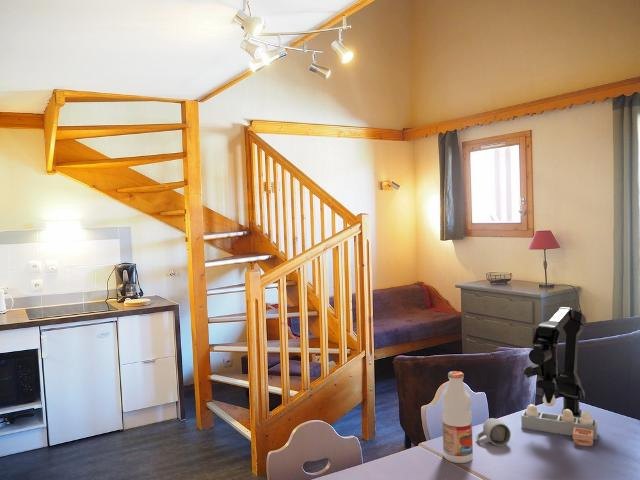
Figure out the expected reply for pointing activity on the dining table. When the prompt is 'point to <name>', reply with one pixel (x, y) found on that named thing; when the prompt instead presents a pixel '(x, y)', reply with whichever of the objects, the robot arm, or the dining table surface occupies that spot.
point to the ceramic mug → (494, 432)
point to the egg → (550, 402)
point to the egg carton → (557, 421)
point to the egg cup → (583, 436)
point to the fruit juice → (457, 421)
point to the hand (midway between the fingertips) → (549, 400)
